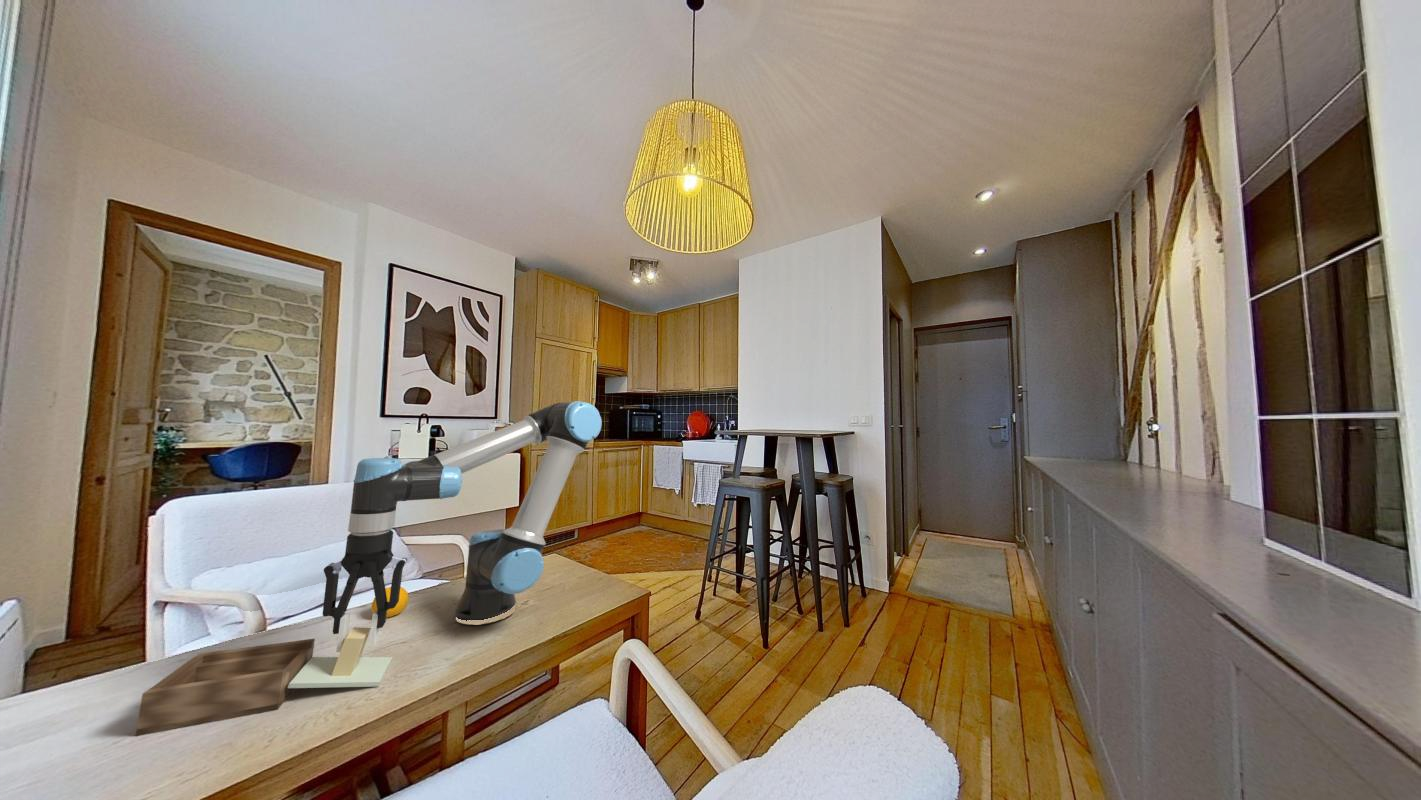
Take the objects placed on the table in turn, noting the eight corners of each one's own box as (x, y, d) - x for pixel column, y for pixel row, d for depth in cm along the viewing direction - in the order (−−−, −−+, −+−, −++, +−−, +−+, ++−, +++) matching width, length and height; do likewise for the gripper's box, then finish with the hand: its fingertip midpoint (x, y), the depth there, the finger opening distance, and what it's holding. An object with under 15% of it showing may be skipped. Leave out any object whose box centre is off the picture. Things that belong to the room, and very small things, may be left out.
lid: (391, 661, 89) (403, 624, 90) (378, 686, 80) (392, 644, 81) (310, 661, 83) (325, 621, 84) (287, 688, 74) (304, 643, 76)
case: (310, 670, 84) (314, 638, 85) (277, 709, 72) (282, 671, 73) (192, 689, 77) (198, 653, 77) (135, 736, 65) (142, 693, 66)
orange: (410, 607, 115) (413, 580, 116) (402, 619, 108) (405, 590, 109) (376, 610, 112) (379, 583, 113) (365, 623, 105) (369, 593, 106)
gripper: (424, 525, 92) (413, 630, 90) (324, 529, 84) (309, 645, 82) (417, 533, 85) (404, 647, 83) (308, 538, 78) (291, 664, 76)
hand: (357, 646), depth 83 cm, fingers open, 4 cm apart
